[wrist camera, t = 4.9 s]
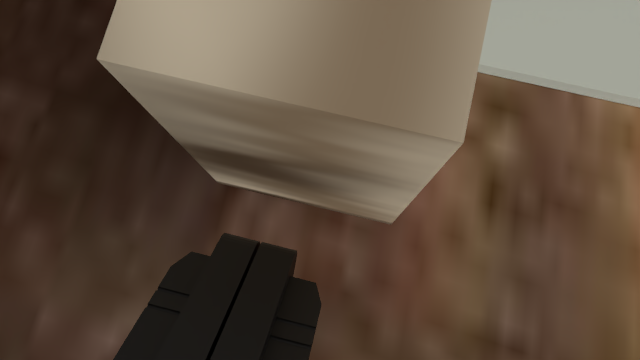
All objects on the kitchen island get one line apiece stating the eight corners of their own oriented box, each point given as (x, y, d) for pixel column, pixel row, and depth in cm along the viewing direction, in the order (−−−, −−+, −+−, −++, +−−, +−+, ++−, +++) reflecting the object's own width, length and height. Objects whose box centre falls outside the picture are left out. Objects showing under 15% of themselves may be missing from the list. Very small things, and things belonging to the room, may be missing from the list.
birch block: (218, 182, 19) (95, 59, 9) (249, 75, 19) (168, -148, 10) (390, 224, 18) (462, 143, 8) (415, 113, 19) (507, -80, 9)
